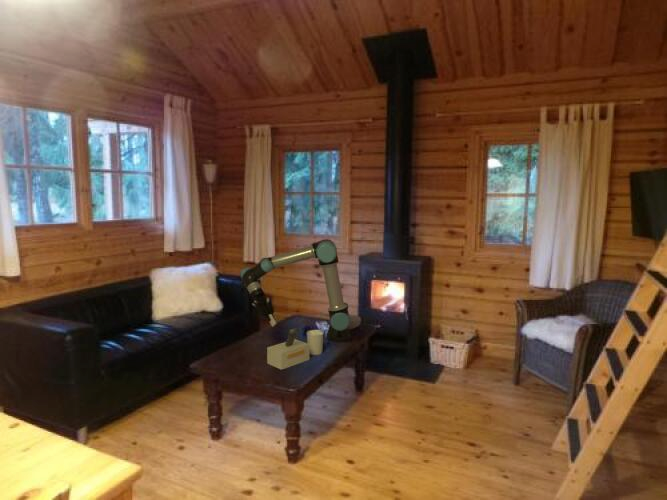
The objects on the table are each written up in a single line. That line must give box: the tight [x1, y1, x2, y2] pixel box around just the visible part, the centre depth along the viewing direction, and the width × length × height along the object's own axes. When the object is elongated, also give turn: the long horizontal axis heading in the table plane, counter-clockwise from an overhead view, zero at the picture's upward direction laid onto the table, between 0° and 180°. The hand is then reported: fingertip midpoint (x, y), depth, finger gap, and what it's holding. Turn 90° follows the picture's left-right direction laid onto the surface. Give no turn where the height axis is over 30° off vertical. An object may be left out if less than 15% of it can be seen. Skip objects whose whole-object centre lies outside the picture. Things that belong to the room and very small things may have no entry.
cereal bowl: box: [348, 314, 362, 331], centre depth 314 cm, size 17×17×7 cm
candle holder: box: [306, 329, 324, 356], centre depth 267 cm, size 10×10×12 cm
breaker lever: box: [285, 327, 300, 347], centre depth 250 cm, size 5×2×11 cm, turn 135°
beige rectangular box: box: [266, 338, 310, 370], centre depth 253 cm, size 20×12×9 cm, turn 135°
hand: (274, 325), depth 260 cm, fingers closed
